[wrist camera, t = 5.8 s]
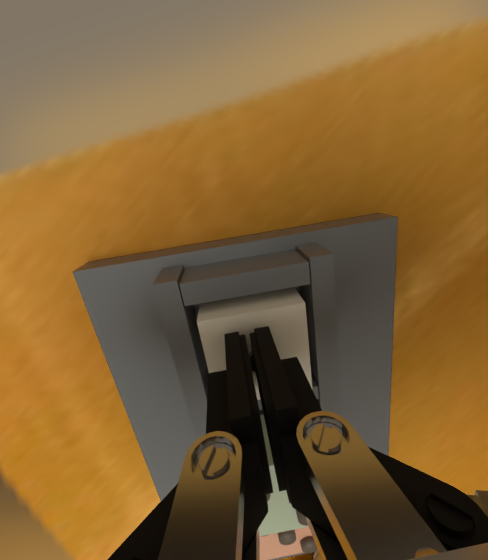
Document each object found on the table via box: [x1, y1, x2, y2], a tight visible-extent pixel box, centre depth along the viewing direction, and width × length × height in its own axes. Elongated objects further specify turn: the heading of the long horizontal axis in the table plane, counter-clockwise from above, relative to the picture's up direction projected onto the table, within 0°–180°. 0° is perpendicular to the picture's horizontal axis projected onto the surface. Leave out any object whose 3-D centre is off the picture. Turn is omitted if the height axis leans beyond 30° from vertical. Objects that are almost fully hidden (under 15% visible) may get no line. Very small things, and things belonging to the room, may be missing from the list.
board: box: [73, 213, 398, 560], centre depth 15 cm, size 14×19×4 cm
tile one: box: [197, 287, 313, 400], centre depth 12 cm, size 4×4×3 cm
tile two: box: [259, 414, 309, 536], centre depth 12 cm, size 4×4×3 cm
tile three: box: [260, 527, 318, 560], centre depth 16 cm, size 4×4×3 cm
